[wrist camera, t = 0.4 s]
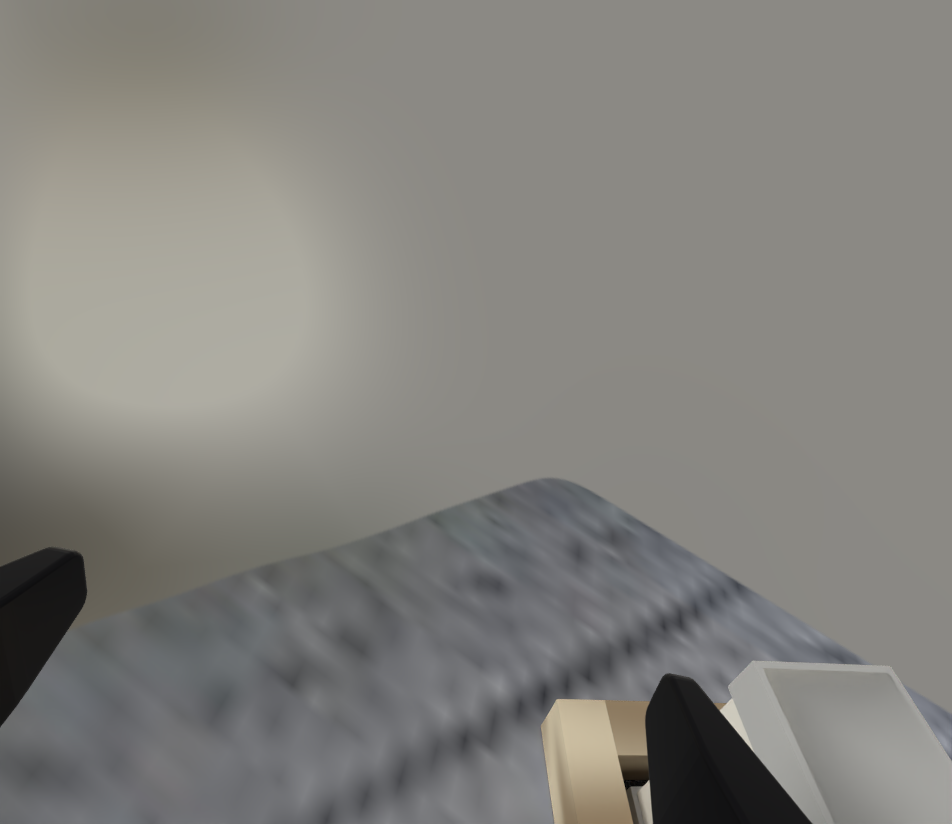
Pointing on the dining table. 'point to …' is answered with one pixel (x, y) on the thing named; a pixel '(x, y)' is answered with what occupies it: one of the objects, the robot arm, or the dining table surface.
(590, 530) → the dining table surface
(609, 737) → the collar block
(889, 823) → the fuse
